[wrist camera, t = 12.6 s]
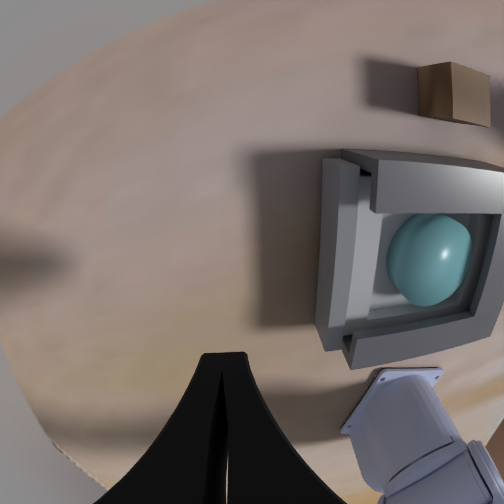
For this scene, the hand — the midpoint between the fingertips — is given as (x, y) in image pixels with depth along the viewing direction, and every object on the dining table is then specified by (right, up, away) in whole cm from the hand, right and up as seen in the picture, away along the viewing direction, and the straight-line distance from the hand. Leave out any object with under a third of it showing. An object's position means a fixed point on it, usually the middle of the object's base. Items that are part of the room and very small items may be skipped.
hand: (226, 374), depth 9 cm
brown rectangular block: (+12, +14, +6) cm, 19 cm away
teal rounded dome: (+12, +4, +8) cm, 14 cm away
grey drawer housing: (+11, +5, +10) cm, 15 cm away
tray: (+11, +5, +10) cm, 15 cm away
